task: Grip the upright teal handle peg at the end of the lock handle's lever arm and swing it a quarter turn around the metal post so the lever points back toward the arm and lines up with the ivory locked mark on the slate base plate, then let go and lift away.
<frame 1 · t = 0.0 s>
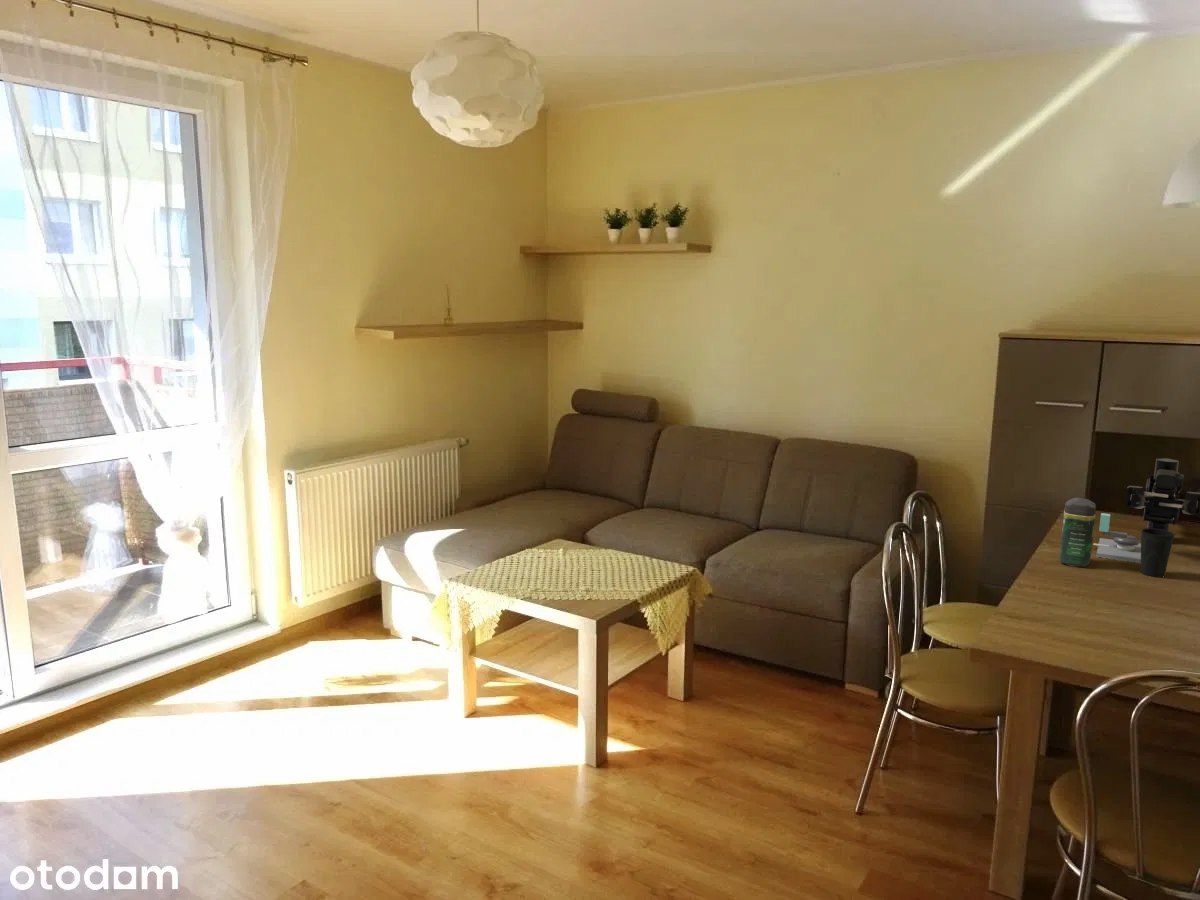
hand: (1163, 506, 248), 17 cm above the table, tool horizontal, fingers open, 9 cm apart
cup: (1152, 574, 241), on the table
coffee jar: (1074, 563, 251), on the table
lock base: (1124, 552, 260), on the table
lock handle: (1119, 528, 260), point 7 cm above the table, hinge at 0.0°
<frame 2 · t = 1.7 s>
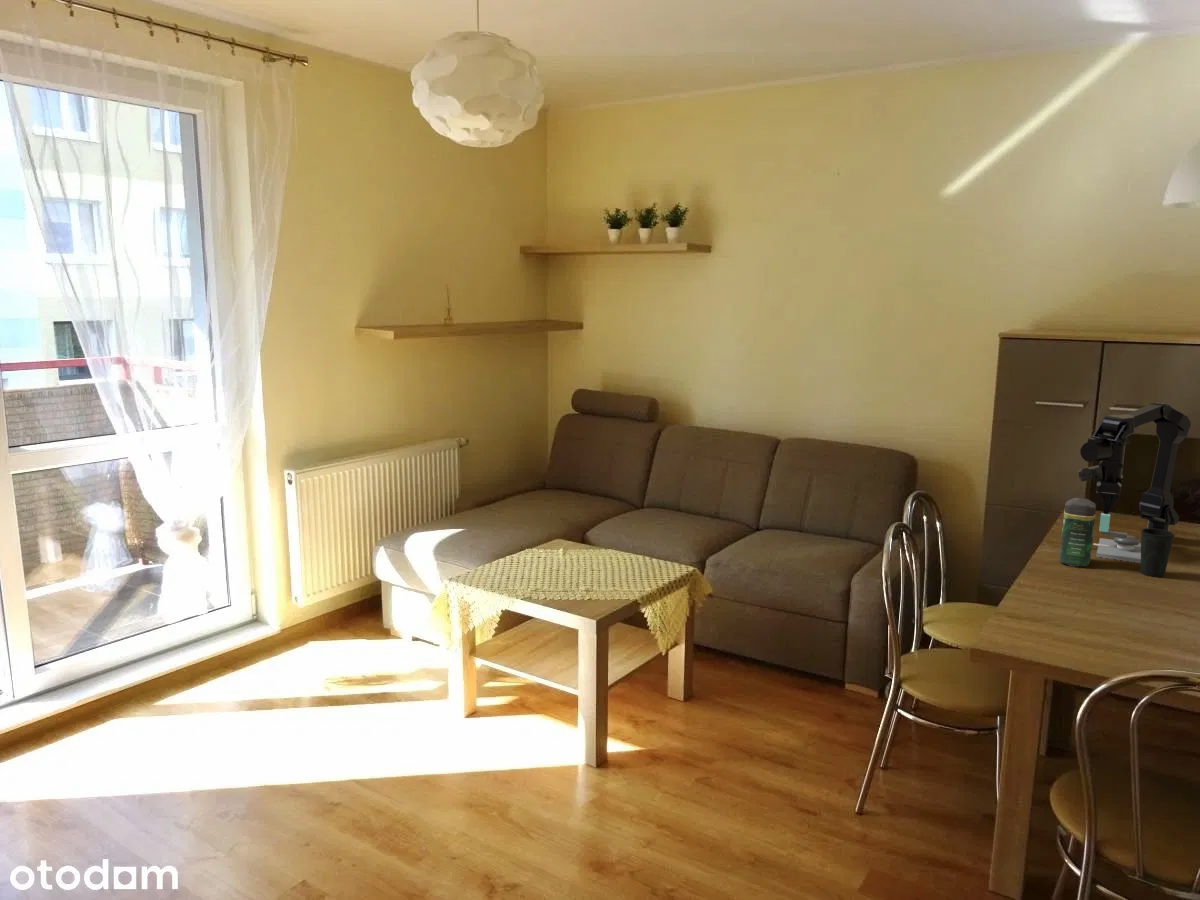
hand: (1106, 510, 261), 12 cm above the table, tool pointing down, fingers open, 9 cm apart
nothing on the table moved.
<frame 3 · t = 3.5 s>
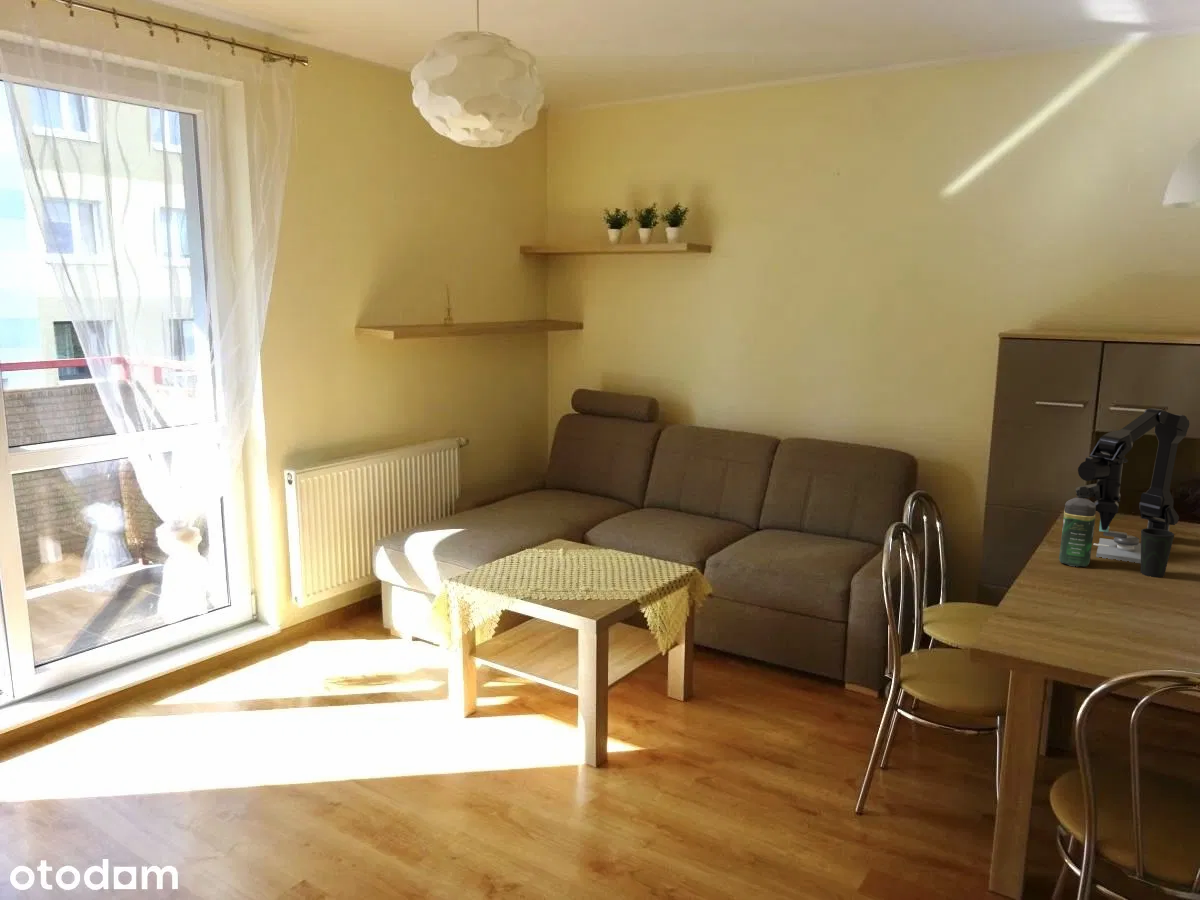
hand: (1104, 528, 262), 7 cm above the table, tool pointing down, fingers closed on lock handle, 2 cm apart
lock handle: (1119, 528, 260), point 7 cm above the table, hinge at 0.0°, touching gripper
everything else where it was.
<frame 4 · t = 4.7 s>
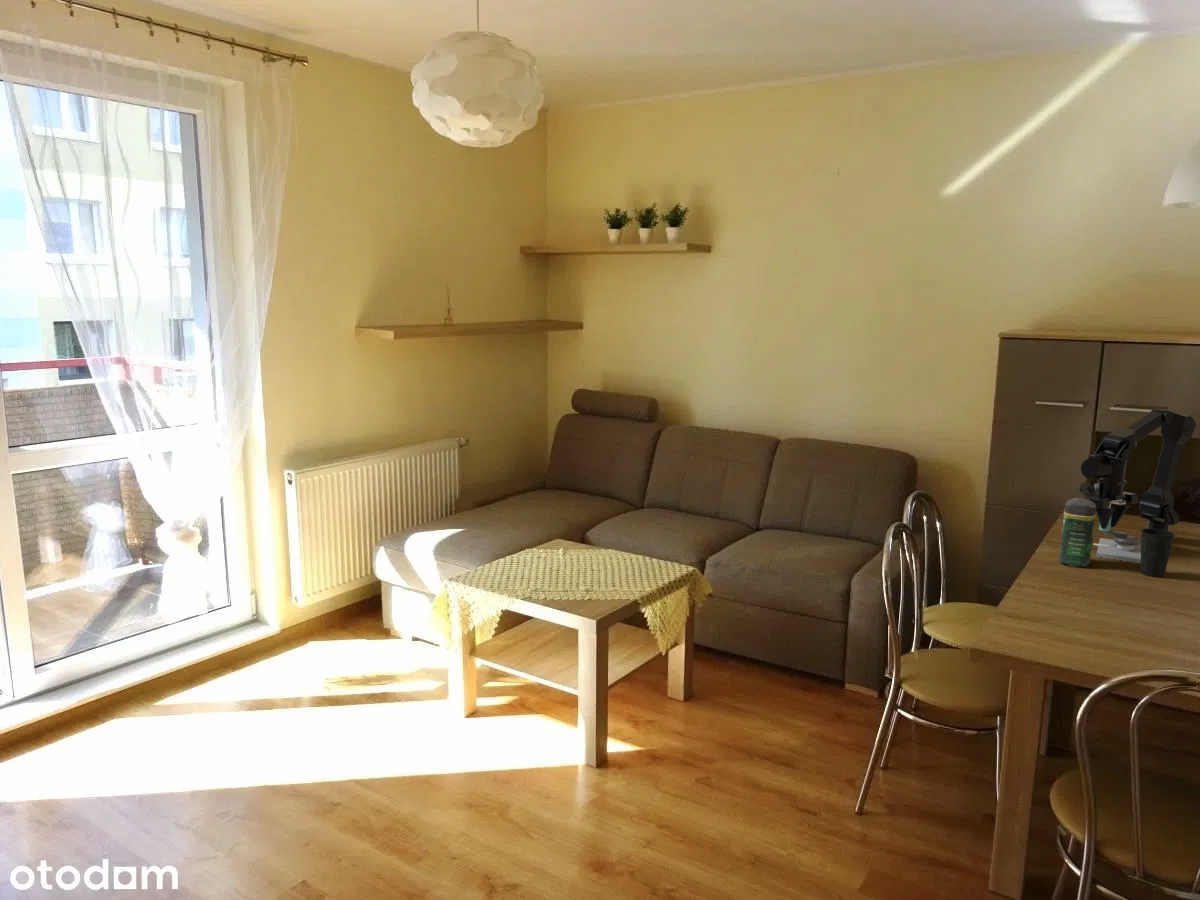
hand: (1107, 527, 263), 6 cm above the table, tool pointing down, fingers open, 4 cm apart
lock handle: (1119, 528, 260), point 7 cm above the table, hinge at -11.7°, touching gripper
everything else where it was.
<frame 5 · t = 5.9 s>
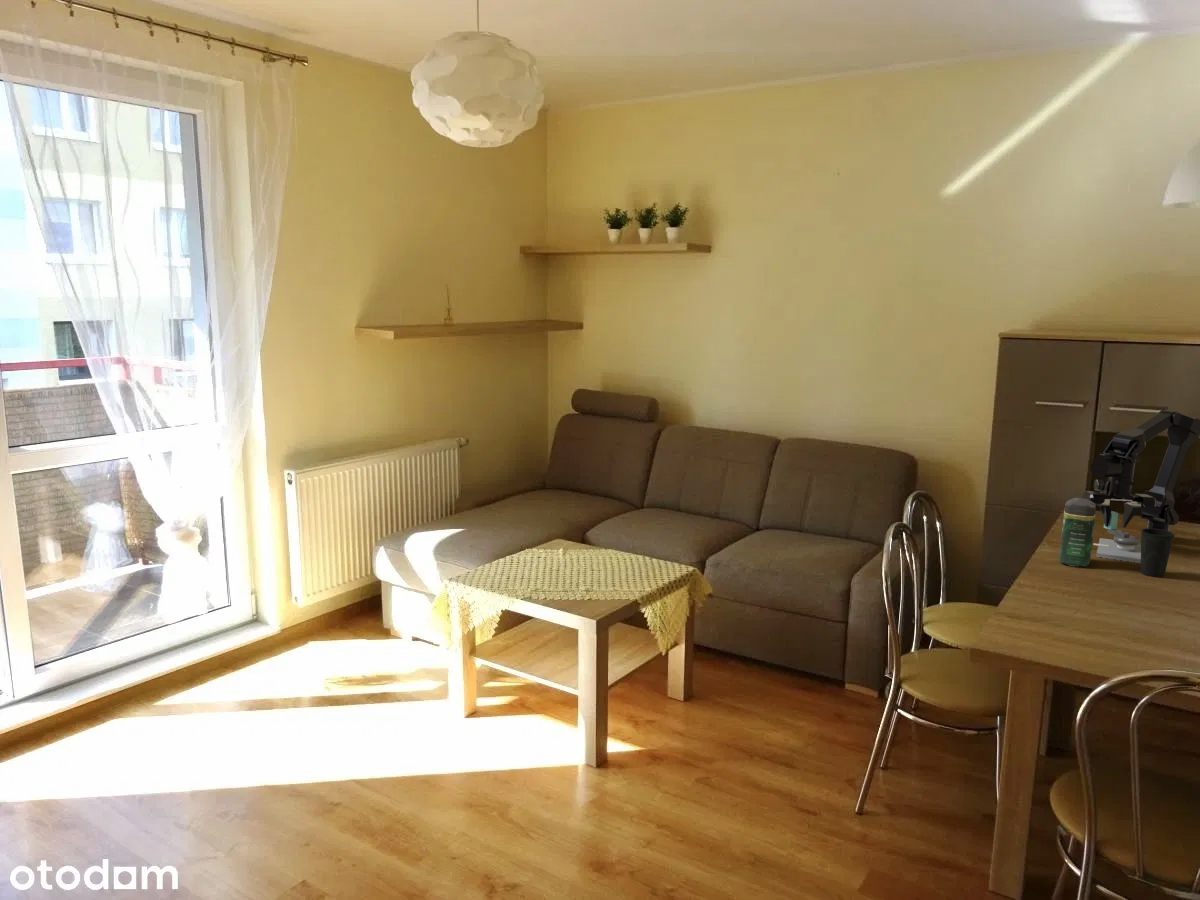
hand: (1114, 526, 264), 6 cm above the table, tool pointing down, fingers open, 5 cm apart
lock handle: (1121, 528, 261), point 7 cm above the table, hinge at -41.4°, touching gripper
everything else where it was.
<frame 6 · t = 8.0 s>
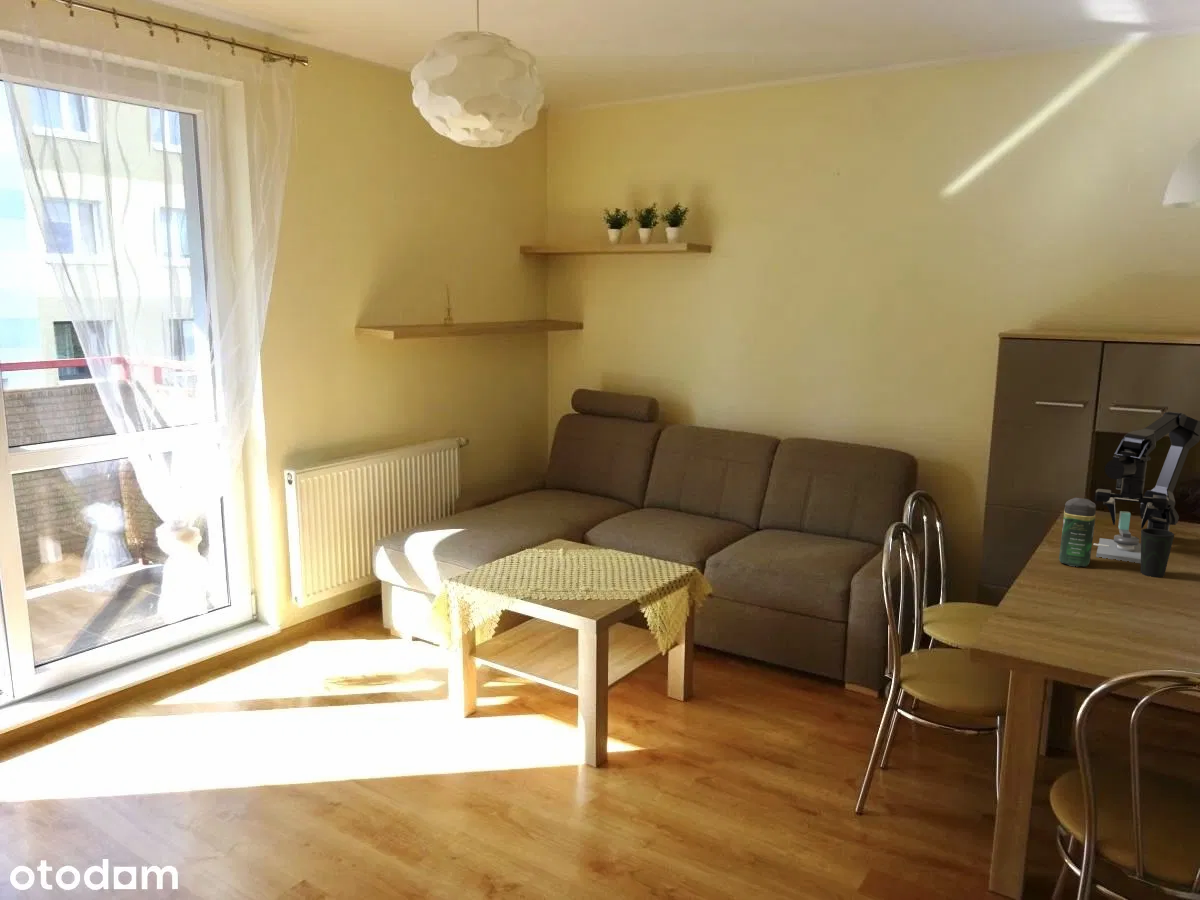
hand: (1127, 526, 264), 7 cm above the table, tool pointing down, fingers open, 7 cm apart
lock handle: (1126, 528, 260), point 7 cm above the table, hinge at -79.4°
everything else where it was.
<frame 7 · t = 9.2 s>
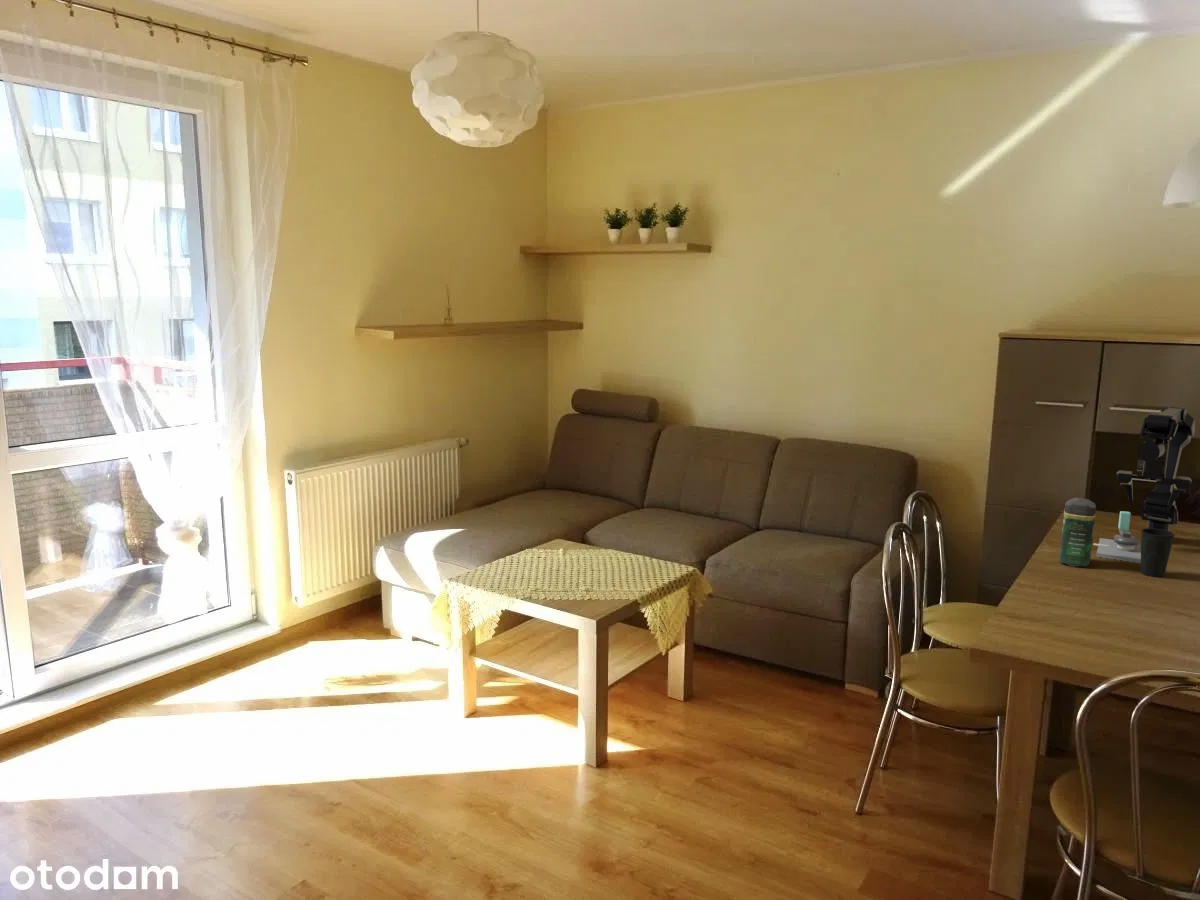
hand: (1149, 508, 260), 13 cm above the table, tool pointing down, fingers open, 9 cm apart
nothing on the table moved.
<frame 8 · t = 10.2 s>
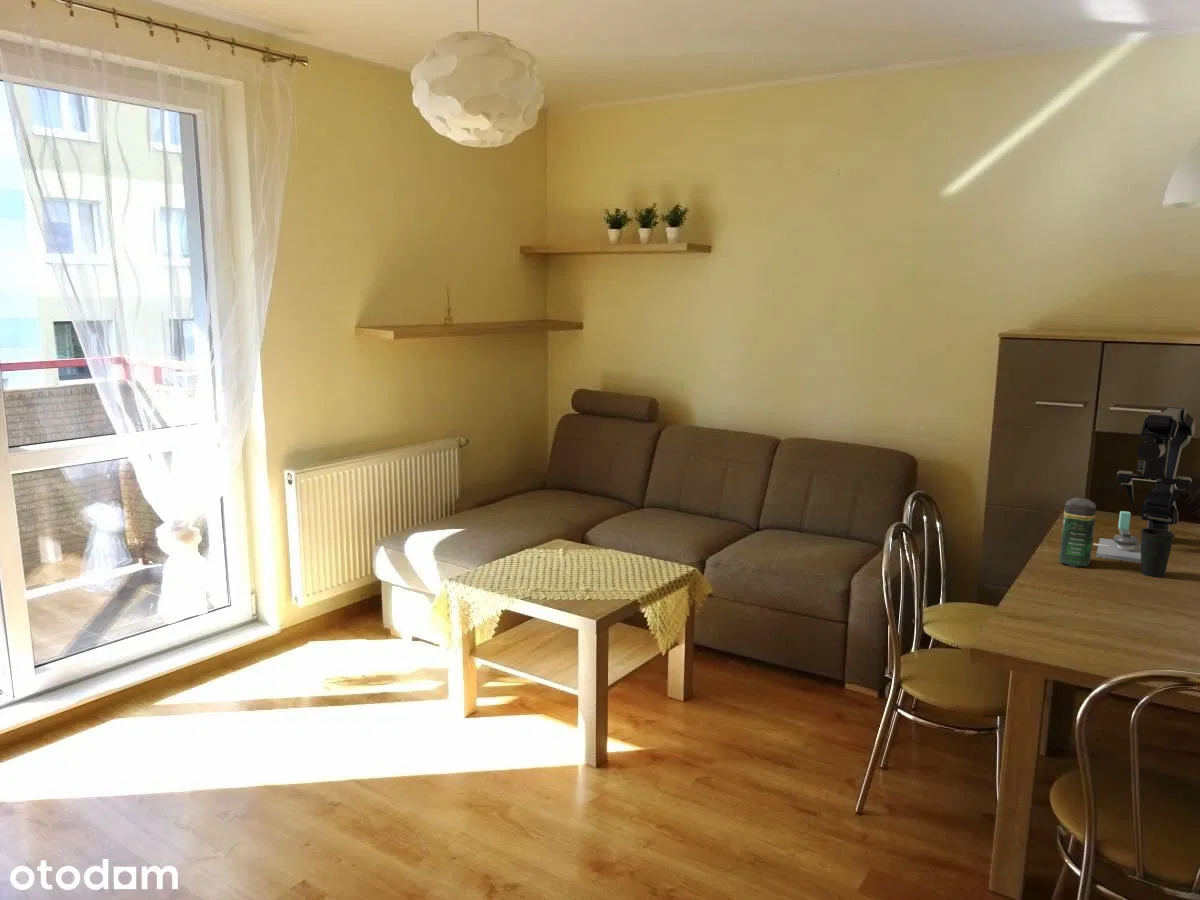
hand: (1149, 508, 260), 13 cm above the table, tool pointing down, fingers open, 9 cm apart
nothing on the table moved.
at the end: lock handle at -80° (first picture: +0°); the gripper is holding nothing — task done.
